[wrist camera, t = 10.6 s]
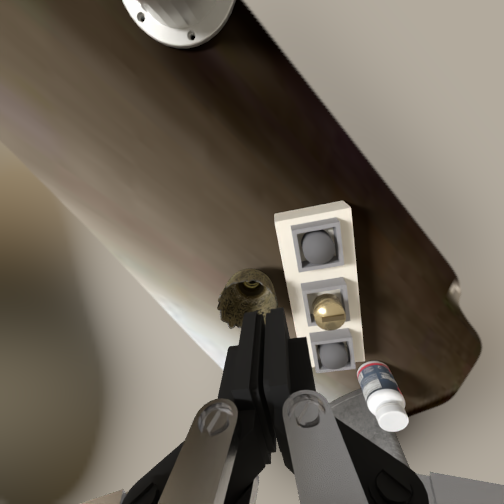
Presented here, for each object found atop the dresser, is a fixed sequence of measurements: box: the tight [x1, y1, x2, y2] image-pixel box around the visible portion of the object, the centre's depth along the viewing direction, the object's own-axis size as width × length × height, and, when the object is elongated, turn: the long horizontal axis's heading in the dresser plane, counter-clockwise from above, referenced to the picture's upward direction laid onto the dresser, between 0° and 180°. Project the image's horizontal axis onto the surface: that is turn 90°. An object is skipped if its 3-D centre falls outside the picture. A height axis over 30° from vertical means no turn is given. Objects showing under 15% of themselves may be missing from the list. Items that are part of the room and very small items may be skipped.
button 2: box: [301, 229, 335, 264], centre depth 33 cm, size 4×4×3 cm
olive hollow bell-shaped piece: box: [217, 269, 278, 329], centre depth 38 cm, size 8×7×8 cm
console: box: [274, 201, 365, 373], centre depth 38 cm, size 23×9×6 cm, turn 12°
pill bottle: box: [357, 361, 409, 432], centre depth 42 cm, size 5×5×9 cm
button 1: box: [318, 342, 348, 369], centre depth 39 cm, size 4×4×3 cm
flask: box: [329, 389, 410, 468], centre depth 41 cm, size 4×14×18 cm, turn 132°
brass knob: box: [312, 294, 346, 331], centre depth 34 cm, size 4×4×3 cm
